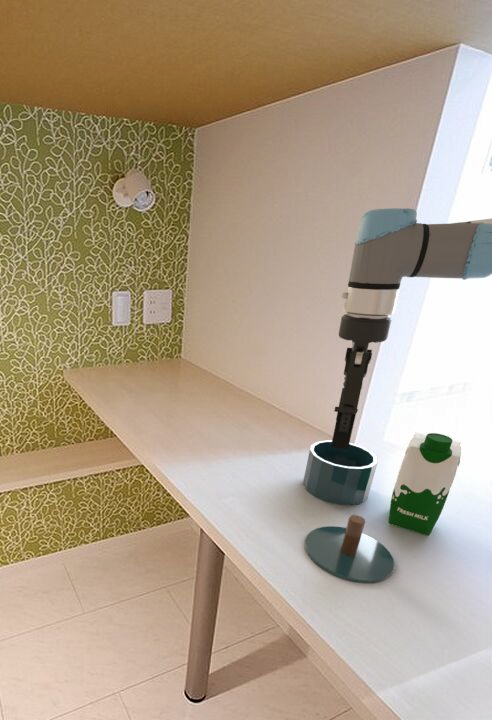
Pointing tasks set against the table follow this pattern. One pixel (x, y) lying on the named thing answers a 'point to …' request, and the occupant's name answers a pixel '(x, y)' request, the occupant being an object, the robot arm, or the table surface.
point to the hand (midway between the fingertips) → (341, 433)
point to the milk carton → (424, 482)
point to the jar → (339, 473)
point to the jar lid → (349, 552)
